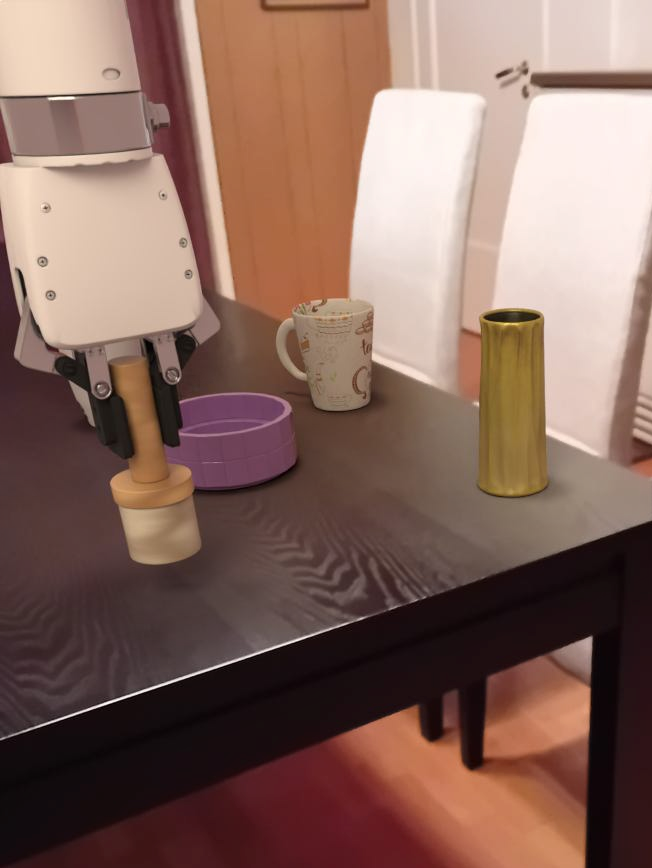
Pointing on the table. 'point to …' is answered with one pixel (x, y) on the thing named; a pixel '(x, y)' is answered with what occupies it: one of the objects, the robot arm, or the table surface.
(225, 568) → the table surface
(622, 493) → the table surface
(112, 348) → the cup
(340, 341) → the mug
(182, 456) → the bowl
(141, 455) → the brush
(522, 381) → the vase
